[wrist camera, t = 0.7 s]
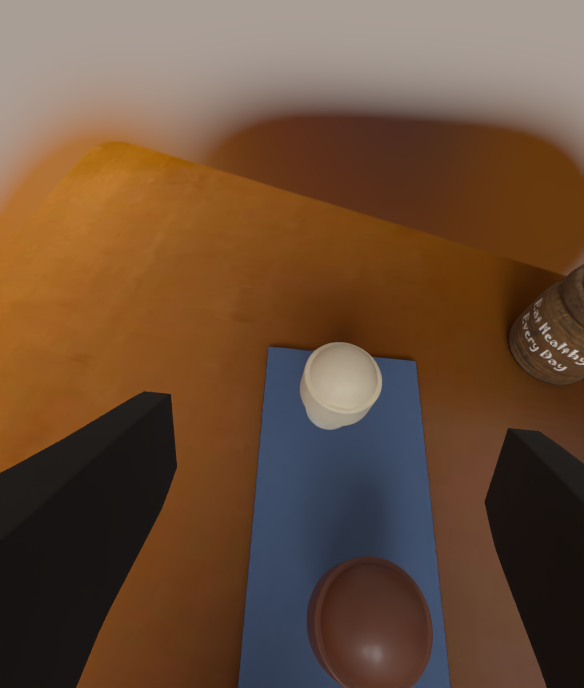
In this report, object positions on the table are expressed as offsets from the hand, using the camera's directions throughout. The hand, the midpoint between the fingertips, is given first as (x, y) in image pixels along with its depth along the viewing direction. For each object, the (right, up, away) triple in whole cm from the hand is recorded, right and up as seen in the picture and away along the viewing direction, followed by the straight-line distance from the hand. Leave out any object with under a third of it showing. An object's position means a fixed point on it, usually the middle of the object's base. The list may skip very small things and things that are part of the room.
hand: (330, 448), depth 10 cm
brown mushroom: (+2, -11, +12) cm, 17 cm away
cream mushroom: (+1, -2, +18) cm, 18 cm away
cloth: (+2, -7, +15) cm, 17 cm away
